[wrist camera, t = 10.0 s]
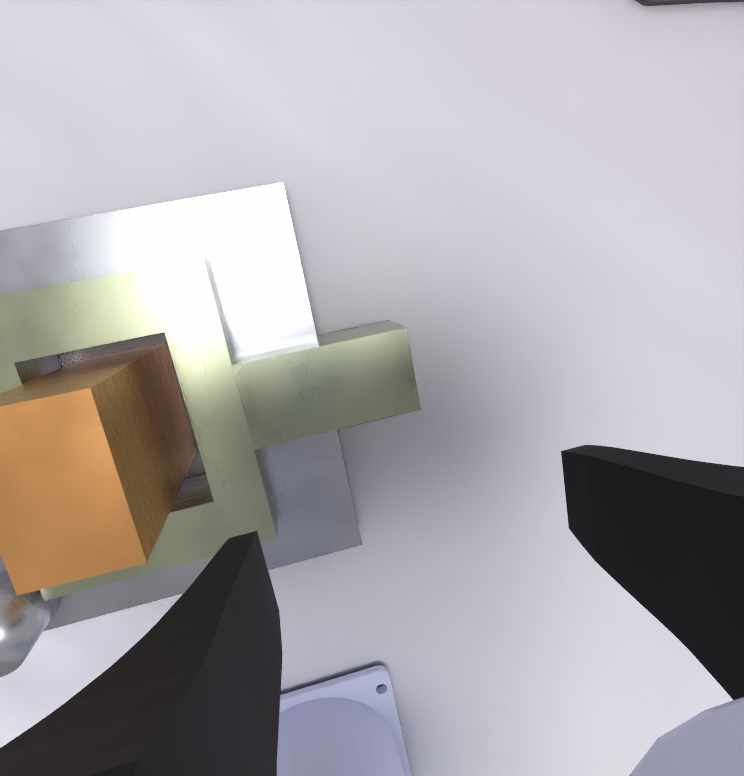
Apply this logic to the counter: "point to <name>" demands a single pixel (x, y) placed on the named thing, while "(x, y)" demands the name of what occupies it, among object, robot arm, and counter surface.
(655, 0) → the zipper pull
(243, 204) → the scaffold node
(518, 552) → the counter surface
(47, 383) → the wooden rectangular peg
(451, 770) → the counter surface
